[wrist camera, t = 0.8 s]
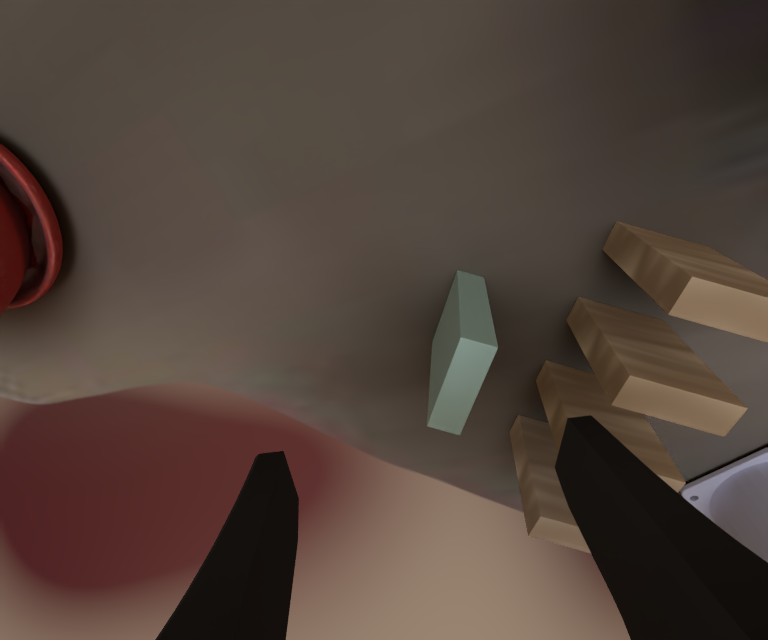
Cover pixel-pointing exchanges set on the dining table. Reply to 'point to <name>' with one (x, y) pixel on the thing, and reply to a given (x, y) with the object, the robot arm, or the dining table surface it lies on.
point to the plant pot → (25, 236)
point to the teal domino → (460, 353)
